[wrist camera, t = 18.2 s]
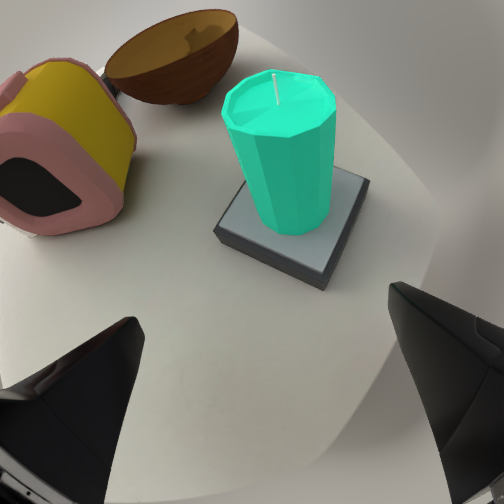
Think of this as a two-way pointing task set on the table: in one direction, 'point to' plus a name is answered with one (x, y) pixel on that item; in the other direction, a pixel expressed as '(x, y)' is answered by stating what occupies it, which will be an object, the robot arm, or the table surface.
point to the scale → (294, 246)
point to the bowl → (176, 58)
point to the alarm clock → (61, 149)
